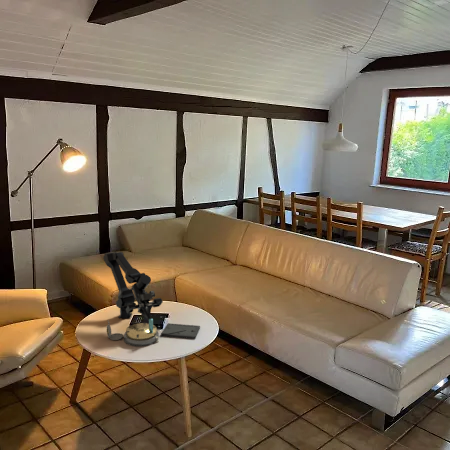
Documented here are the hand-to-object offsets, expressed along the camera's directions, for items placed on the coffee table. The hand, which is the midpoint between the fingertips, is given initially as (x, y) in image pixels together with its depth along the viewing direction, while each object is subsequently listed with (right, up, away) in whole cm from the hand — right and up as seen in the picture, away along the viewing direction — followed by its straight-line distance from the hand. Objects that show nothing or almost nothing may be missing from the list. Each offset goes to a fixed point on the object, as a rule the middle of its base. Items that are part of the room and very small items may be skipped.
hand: (149, 320), depth 230 cm
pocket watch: (-17, -8, -4) cm, 20 cm away
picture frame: (+16, -8, +4) cm, 18 cm away
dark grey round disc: (-3, -8, -4) cm, 10 cm away
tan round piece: (-3, -6, -5) cm, 8 cm away
